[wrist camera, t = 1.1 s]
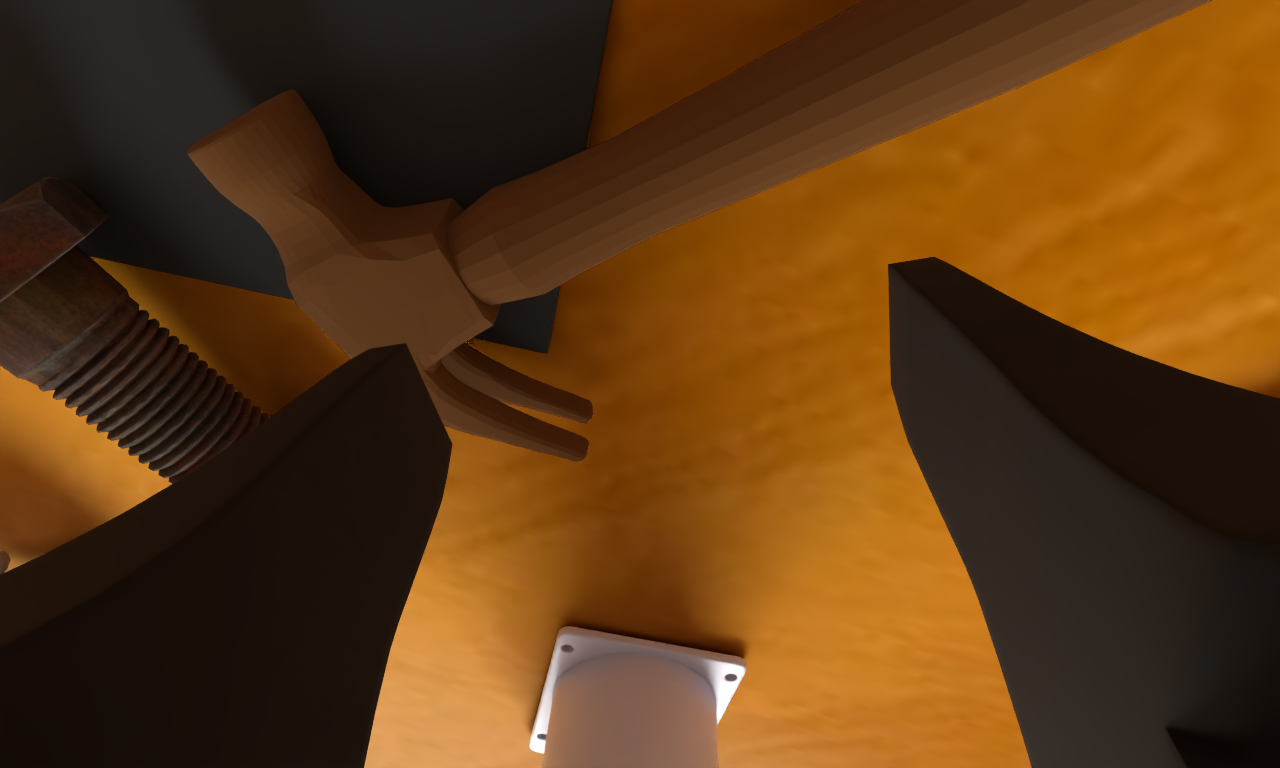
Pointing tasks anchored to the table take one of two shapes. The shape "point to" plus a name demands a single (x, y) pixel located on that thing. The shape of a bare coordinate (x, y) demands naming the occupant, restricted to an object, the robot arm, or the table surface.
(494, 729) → the table surface
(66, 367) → the bolt
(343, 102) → the mat
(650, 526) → the table surface
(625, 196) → the hammer
